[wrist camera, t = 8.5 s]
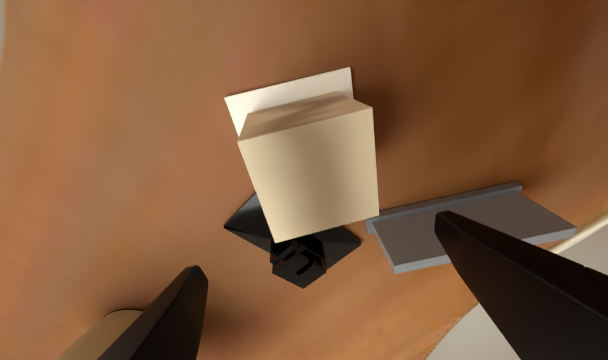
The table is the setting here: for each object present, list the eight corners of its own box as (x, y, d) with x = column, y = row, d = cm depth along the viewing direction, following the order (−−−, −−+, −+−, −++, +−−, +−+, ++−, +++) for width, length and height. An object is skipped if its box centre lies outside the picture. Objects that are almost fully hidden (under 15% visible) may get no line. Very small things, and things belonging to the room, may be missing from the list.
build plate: (361, 240, 24) (377, 280, 20) (313, 276, 27) (319, 319, 22) (270, 173, 20) (267, 206, 15) (222, 224, 22) (207, 265, 18)
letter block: (335, 91, 16) (372, 107, 11) (346, 172, 20) (379, 217, 14) (247, 113, 16) (237, 142, 10) (273, 191, 19) (276, 245, 14)
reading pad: (348, 66, 16) (350, 67, 16) (359, 175, 20) (361, 178, 20) (225, 96, 16) (224, 97, 16) (263, 197, 21) (262, 200, 20)
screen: (515, 181, 22) (586, 221, 17) (510, 197, 23) (576, 240, 18) (363, 214, 23) (387, 262, 17) (365, 229, 24) (388, 279, 18)
